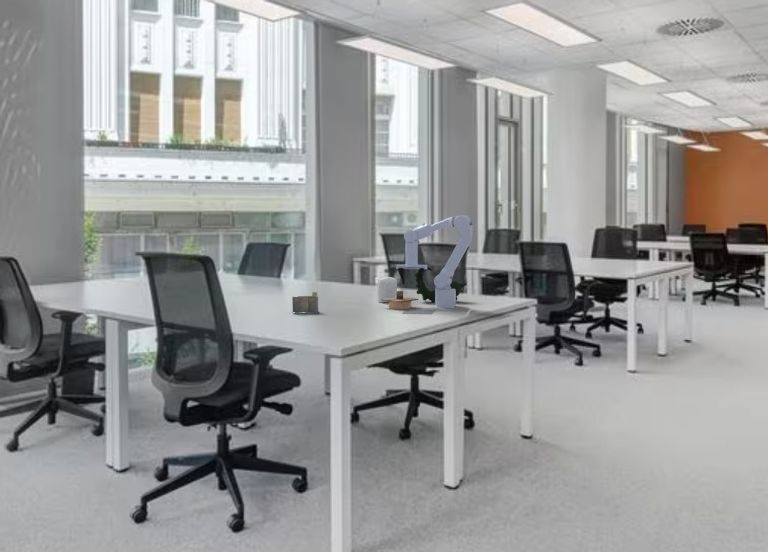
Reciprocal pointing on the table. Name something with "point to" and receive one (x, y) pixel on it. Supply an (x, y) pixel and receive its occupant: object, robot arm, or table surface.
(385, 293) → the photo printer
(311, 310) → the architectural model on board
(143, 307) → the table surface
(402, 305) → the bowl
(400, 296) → the lid
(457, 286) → the toy figurine
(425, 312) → the mat
